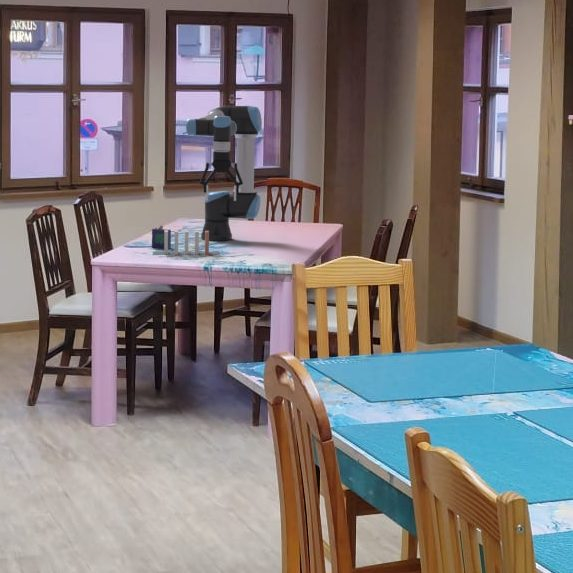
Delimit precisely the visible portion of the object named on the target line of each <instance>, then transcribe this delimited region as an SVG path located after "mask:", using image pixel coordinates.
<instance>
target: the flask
mask: <svg viewBox="0 0 573 573" xmlns="http://www.w3.org/2000/svg"><path fill="white" fill-rule="evenodd" d="M164 230H168V250H170V249H171V248H172V230H171V229H166V228H165V229H164V225H159V227H154V228H152V229H151V248H154V249H164Z"/></svg>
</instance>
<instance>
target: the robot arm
mask: <svg viewBox="0 0 573 573" xmlns="http://www.w3.org/2000/svg"><path fill="white" fill-rule="evenodd" d="M262 120H263V119H262V115H261V111H260V109H259V107H258V106H253V105H251V106H250V105H223V106H219V107H215V108H213V109H211V110H210V111H208V112H207V113H206V115H204V116H201V117H200V118H188V119H187V121H186V124H185V125H186V126H185V131H186V133H187V135H188V136H193V137H196V136H197V137H213V143H212V144H213V146H212V150H213V152H212V153H213V154H212V162H206V163H205V168H204V171H203V173H202V175H201V178H200V181H199V184H201V185H202V186H203V193H206V194H205V198H204V199H205V200H204V225H203V227H202V232H201V234H200V239H201V240H204V241H205V231H209V241H218V242H219V241H222V242H223V241H230V239H231V240H232V239H233V234H232V231H231V227H230V219H245V220H251V219H252V220H255V218H257V217H258V214H259V212H260V208H261V207H260V206H261V196H260V194H258V191H257V189H255V149H256V148H255V144H256V143H255V139H256V137H257V136H258V135H259V132H260V131H262V127H263V126H262V124H263V122H262ZM232 136H235V137H236V162H233V163H232V162H231V152H230V151H231V137H232ZM211 167H212V168H213V170H212V171H211V173H210V174H209V175H208V177H207V178H206V175H207V173H208V171H209V169H210V168H211ZM231 167H232V168H233V169H234V171H235V175H236V176H234V175H233V174H232V172H231V171H230V168H231ZM216 173H223V174H224V173H227V174H228V175H229V178H230V179H231V180H232V181H233V183H234V184H235V185H234V186H233V190H232V193H230V191H229V190H219V191H211V192H209V185H208V183H209V182H210V181H211V180H212V178H213V177H214V175H215V174H216ZM205 179H206V180H205ZM204 180H205V181H204Z"/></svg>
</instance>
